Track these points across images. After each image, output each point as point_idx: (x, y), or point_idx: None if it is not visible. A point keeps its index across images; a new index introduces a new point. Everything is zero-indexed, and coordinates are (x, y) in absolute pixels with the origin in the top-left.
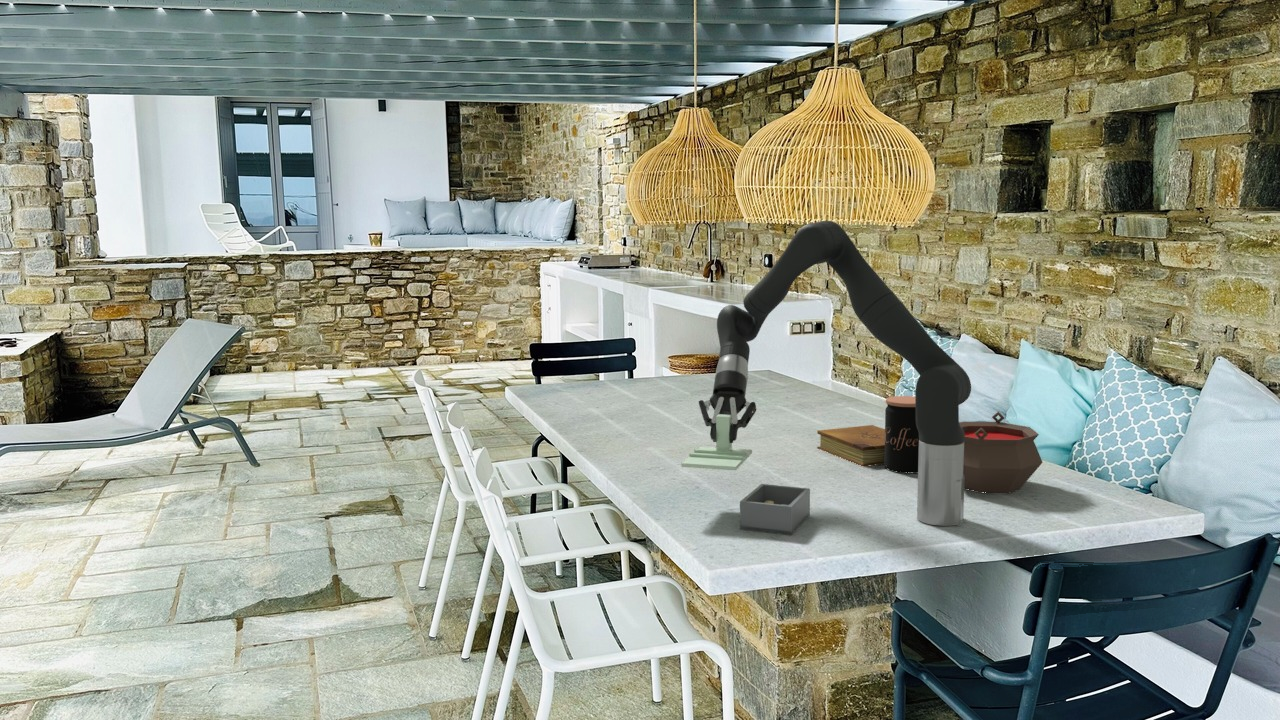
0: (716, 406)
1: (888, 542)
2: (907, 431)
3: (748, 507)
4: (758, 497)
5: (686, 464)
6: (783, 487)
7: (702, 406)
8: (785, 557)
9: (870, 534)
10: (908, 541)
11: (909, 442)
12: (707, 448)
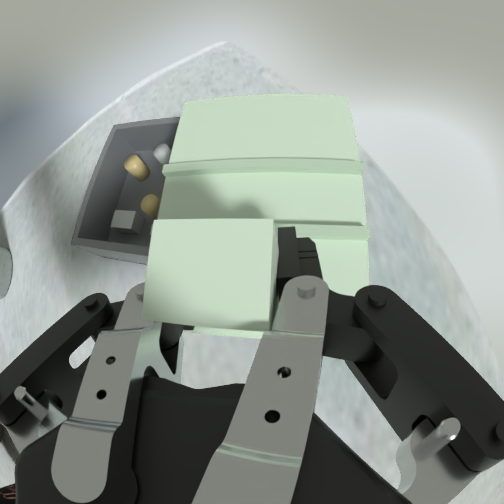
0: (309, 406)
1: (48, 174)
2: (4, 493)
3: None
4: None
5: (331, 97)
6: (111, 242)
7: (470, 394)
8: (151, 86)
9: (54, 193)
10: (34, 185)
11: (12, 488)
12: None
